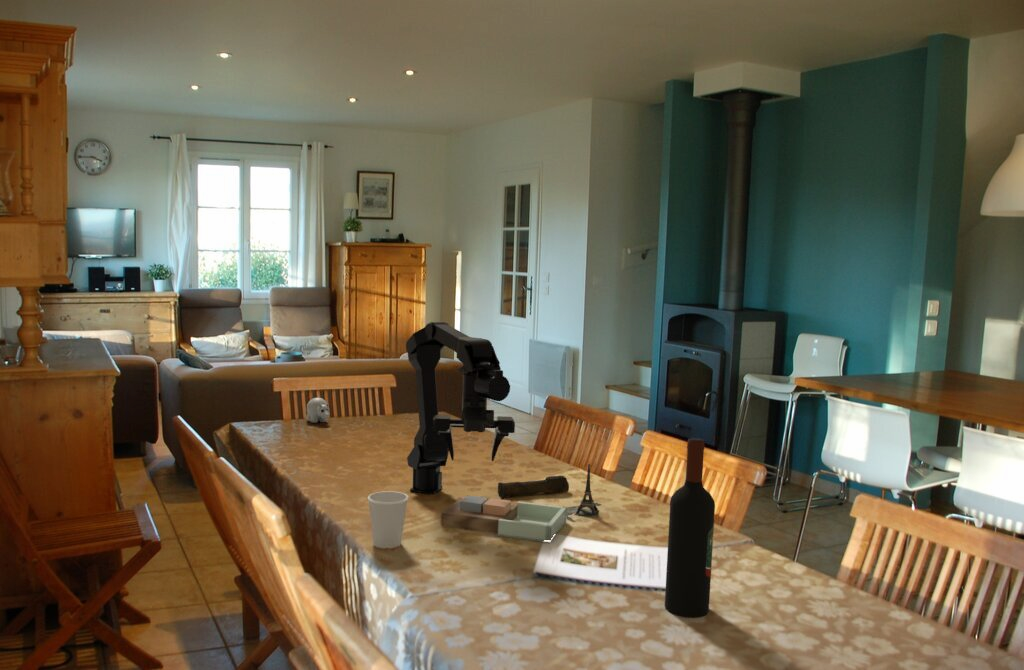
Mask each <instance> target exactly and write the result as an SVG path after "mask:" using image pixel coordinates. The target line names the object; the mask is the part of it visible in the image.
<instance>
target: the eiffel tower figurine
mask: <svg viewBox="0 0 1024 670" xmlns="http://www.w3.org/2000/svg"><path fill="white" fill-rule="evenodd" d="M588 462H590V460H588ZM583 495H584V496H583V498H581V501H580V504H579V505H573V506H569V507H567V506H566V507H567V512H566V520H568V521H571V522H573V523H575V522H576V523H577V521H576V520H574V519H573V517H571V516H572V515H574V516H578V517H579V516H581V517H588V518H590V517H591V518H598V516H599V513H600V510H599V509H598V508H597V507H601V506H602V504H601V503H599V502H595V500H594V499H593V497H592V490H591V464H590V463H588V465H587V475H586V484H585V491H584V494H583ZM587 497H588V498H587ZM586 508H587V509H586Z"/></svg>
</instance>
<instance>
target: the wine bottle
mask: <svg viewBox="0 0 1024 670" xmlns="http://www.w3.org/2000/svg"><path fill="white" fill-rule="evenodd" d="M686 446H687V447H686V448H687V452H686V466H685V467H686V470H685V471H686V472H685V482H684V484H683V486H681V487H679V488H678V489H677V490H675V492H673V494H672V496H671V497H670V502H669V503H670V505H669V518H668V519H669V520H668V539H667V553H666V554H667V556H666V558H667V559H666V571H665V572H666V575H665V576H666V577H665V590H664V591H665V593H664V596H665V597H664V608H665V610H666V611H667V612H669V613H670V614H673V615H674V616H677V617H678V616H679V617H681V618H682V617H683V618H692V619H694V618H701V617H705V616H706V615H708V614H709V611H710V599H711V598H710V596H711V595H710V594H711V579H712V565H713V564H712V562H713V561H712V560H713V544H714V529H715V528H714V527H715V512H716V511H715V510H716V504H715V500H714V498H713V496H712V495H711V493H710V492H709V491H708V490H707V489H706V488H705V487H704V486H703V471H704V470H703V469H704V456H705V455H704V454H705V452H704V451H705V440H704V439H702V438H698V437H697V438H696V437H691V438H690V437H689V438H688V439H687V443H686Z"/></svg>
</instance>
